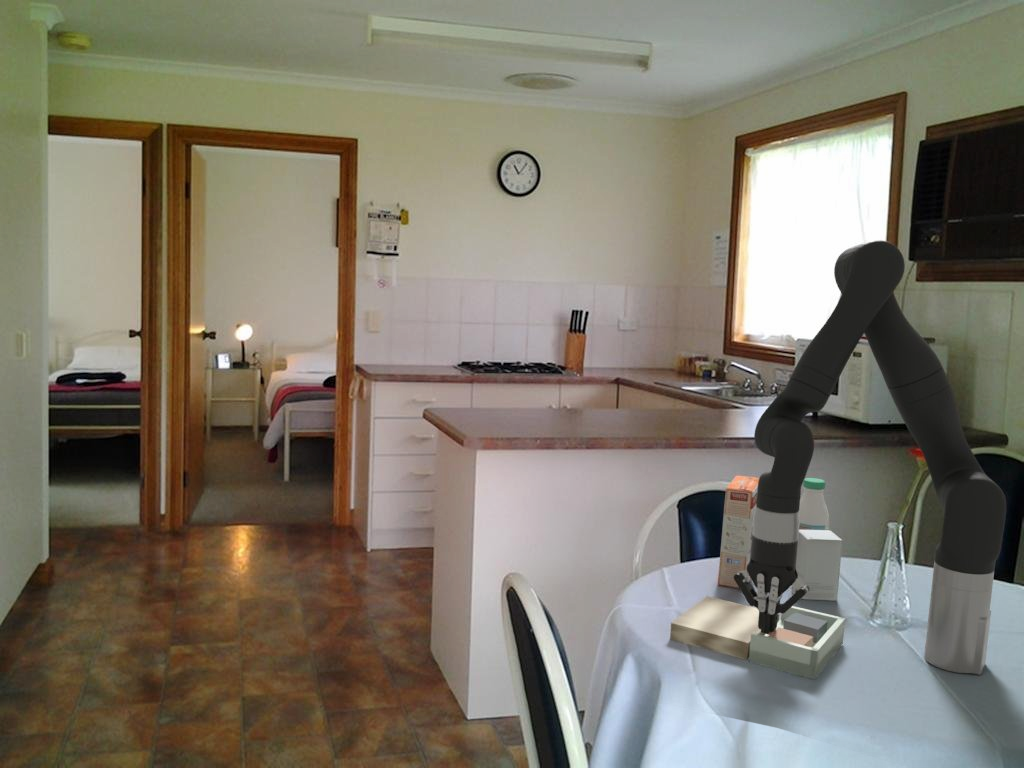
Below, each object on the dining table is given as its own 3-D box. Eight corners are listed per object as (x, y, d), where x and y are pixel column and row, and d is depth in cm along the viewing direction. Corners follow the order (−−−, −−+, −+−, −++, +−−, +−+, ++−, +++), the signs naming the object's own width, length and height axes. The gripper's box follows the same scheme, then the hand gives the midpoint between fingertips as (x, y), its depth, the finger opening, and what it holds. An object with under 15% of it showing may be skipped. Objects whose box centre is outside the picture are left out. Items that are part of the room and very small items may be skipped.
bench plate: (778, 629, 176) (779, 613, 175) (746, 659, 162) (748, 642, 161) (706, 611, 183) (707, 596, 183) (670, 639, 169) (671, 622, 169)
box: (842, 644, 170) (845, 618, 169) (814, 679, 155) (817, 651, 154) (781, 628, 176) (783, 603, 175) (748, 661, 161) (750, 634, 160)
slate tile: (826, 634, 168) (827, 621, 168) (816, 643, 164) (817, 629, 164) (793, 625, 172) (794, 612, 172) (782, 633, 168) (783, 620, 168)
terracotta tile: (811, 650, 161) (813, 636, 161) (802, 660, 157) (803, 645, 157) (777, 641, 165) (778, 627, 164) (766, 650, 161) (767, 636, 160)
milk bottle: (797, 560, 217) (804, 474, 215) (830, 568, 213) (838, 480, 210) (783, 567, 211) (790, 479, 209) (817, 576, 207) (825, 485, 204)
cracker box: (746, 591, 196) (754, 491, 193) (716, 586, 198) (723, 487, 195) (755, 571, 208) (763, 477, 206) (727, 566, 211) (734, 473, 208)
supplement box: (838, 601, 192) (843, 540, 190) (801, 599, 192) (806, 538, 190) (826, 588, 199) (831, 529, 197) (790, 587, 199) (795, 528, 197)
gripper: (821, 537, 161) (811, 635, 163) (744, 522, 168) (737, 616, 170) (808, 547, 154) (798, 649, 157) (729, 531, 161) (721, 629, 164)
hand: (766, 632), depth 163 cm, fingers closed
